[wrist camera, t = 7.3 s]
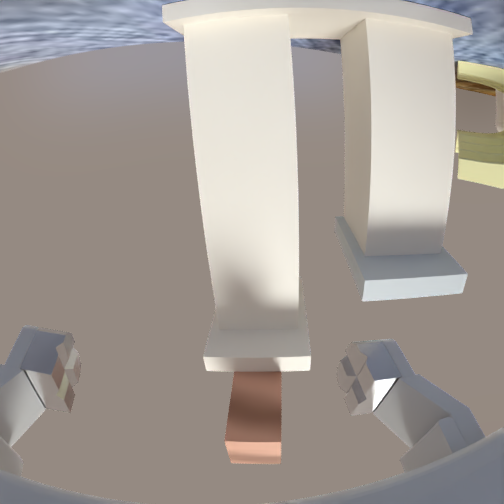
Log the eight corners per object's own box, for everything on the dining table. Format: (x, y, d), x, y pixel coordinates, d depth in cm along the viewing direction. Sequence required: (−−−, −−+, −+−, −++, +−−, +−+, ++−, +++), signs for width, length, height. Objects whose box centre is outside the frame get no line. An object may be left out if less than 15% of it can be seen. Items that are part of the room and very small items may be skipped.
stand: (152, -2, 15) (206, 370, 30) (483, 14, 13) (439, 356, 28) (198, 33, 28) (224, 291, 42) (414, 36, 26) (401, 284, 40)
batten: (224, 441, 22) (231, 462, 24) (280, 442, 22) (280, 463, 24) (246, 283, 44) (249, 309, 46) (279, 282, 43) (280, 309, 45)
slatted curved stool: (520, 88, 41) (517, 166, 49) (456, 75, 49) (455, 152, 57) (561, 76, 19) (553, 202, 27) (459, 51, 28) (457, 178, 36)
